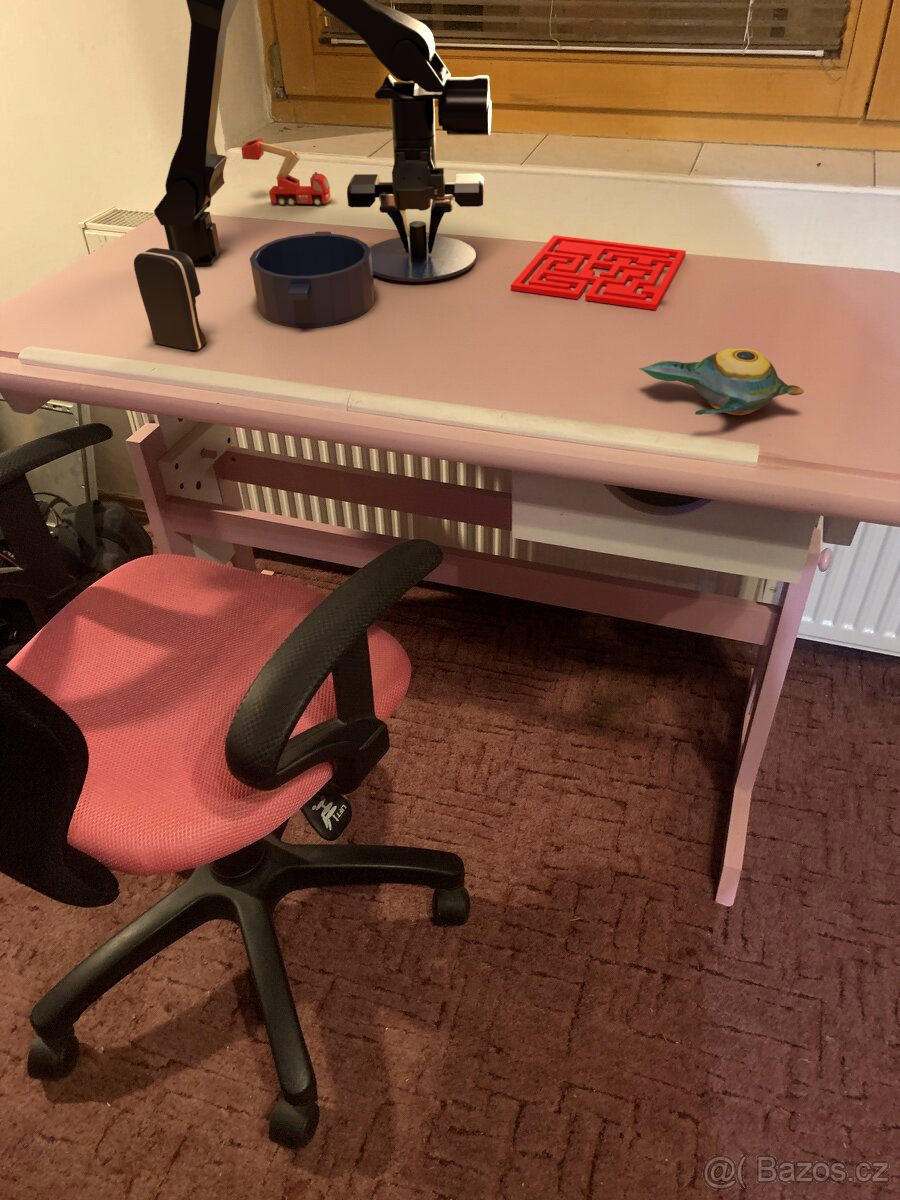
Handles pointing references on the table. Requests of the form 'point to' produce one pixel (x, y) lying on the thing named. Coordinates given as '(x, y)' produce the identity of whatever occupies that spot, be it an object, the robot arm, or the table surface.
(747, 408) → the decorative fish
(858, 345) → the table surface
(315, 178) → the toy fire truck
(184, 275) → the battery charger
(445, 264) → the lid
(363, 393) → the table surface
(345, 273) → the pan
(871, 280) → the table surface
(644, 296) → the maze puzzle
